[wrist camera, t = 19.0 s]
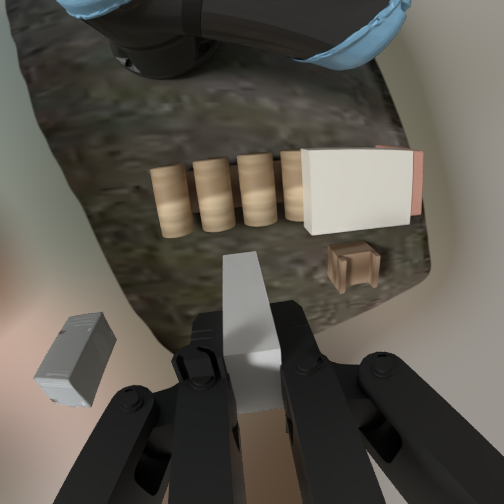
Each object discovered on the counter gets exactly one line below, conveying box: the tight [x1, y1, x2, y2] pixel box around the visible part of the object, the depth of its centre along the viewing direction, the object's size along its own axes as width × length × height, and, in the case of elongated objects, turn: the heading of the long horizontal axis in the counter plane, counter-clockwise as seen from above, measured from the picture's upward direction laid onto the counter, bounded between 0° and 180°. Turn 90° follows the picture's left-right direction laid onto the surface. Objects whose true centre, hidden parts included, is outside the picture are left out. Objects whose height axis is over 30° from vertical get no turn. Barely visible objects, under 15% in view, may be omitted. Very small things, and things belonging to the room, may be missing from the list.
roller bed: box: [150, 149, 304, 238], centre depth 35 cm, size 8×30×7 cm, turn 96°
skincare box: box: [33, 312, 117, 407], centre depth 38 cm, size 8×7×16 cm
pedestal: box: [327, 241, 380, 294], centre depth 41 cm, size 5×6×6 cm
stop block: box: [376, 145, 423, 216], centre depth 35 cm, size 8×2×9 cm, turn 6°
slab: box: [301, 148, 413, 235], centre depth 31 cm, size 9×13×3 cm
